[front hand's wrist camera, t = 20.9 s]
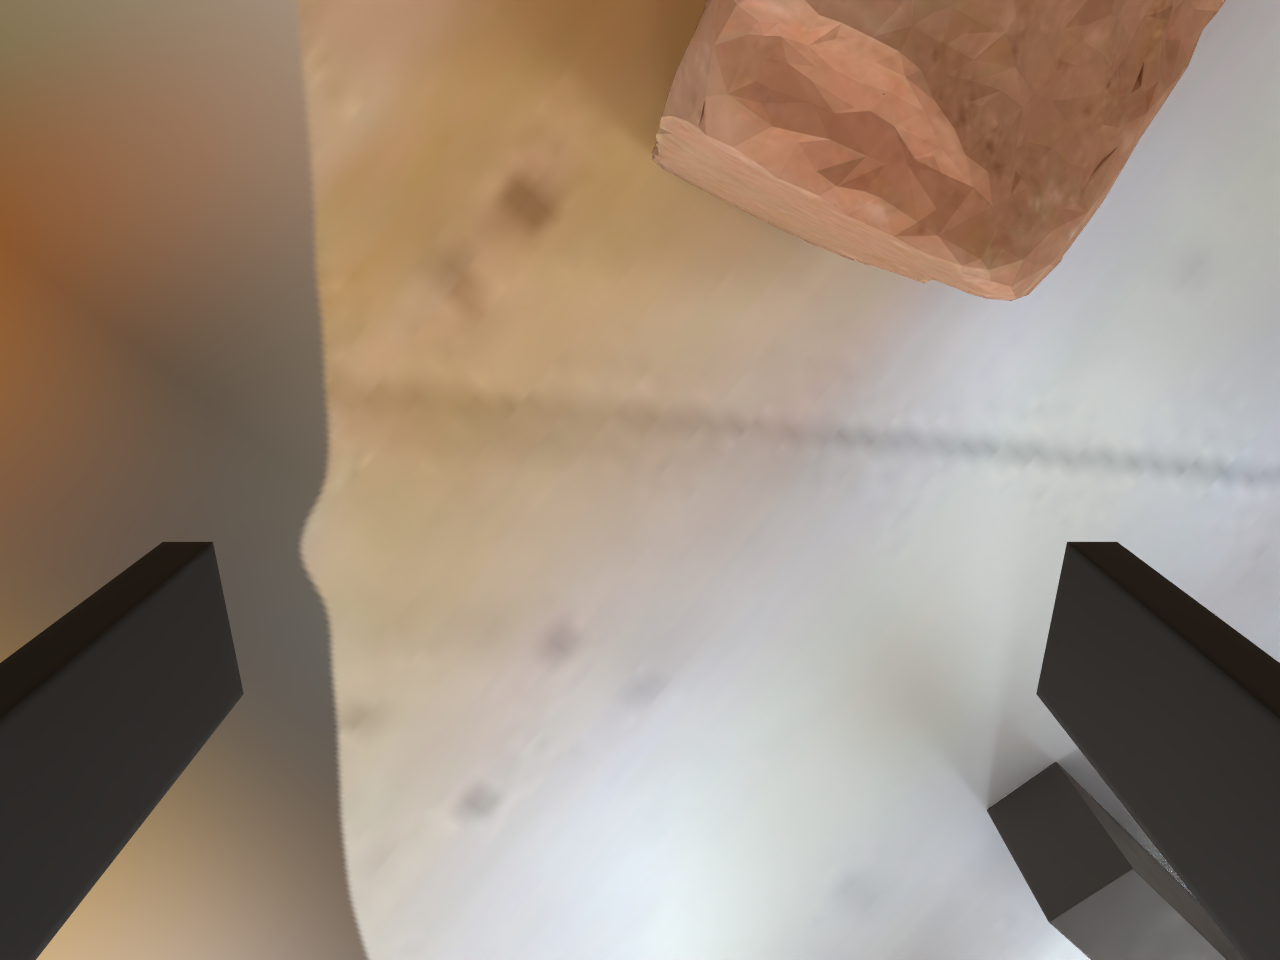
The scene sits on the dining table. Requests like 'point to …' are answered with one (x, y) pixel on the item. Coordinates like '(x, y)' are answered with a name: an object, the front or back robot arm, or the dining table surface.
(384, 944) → the dining table surface
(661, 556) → the dining table surface
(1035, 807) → the bar
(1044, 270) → the stone
